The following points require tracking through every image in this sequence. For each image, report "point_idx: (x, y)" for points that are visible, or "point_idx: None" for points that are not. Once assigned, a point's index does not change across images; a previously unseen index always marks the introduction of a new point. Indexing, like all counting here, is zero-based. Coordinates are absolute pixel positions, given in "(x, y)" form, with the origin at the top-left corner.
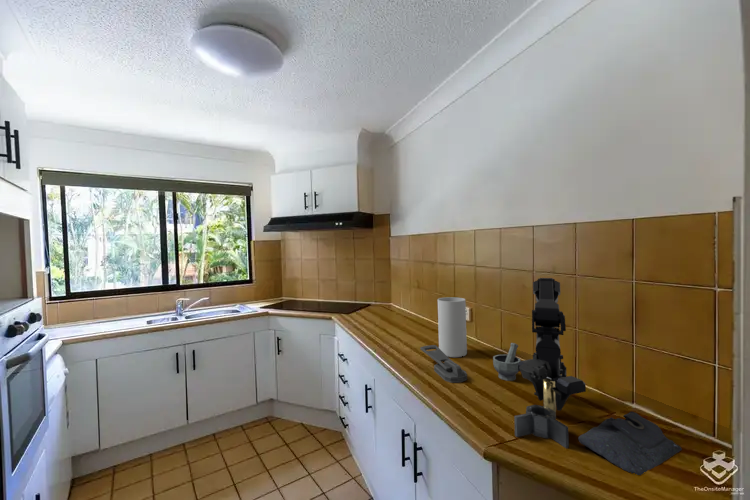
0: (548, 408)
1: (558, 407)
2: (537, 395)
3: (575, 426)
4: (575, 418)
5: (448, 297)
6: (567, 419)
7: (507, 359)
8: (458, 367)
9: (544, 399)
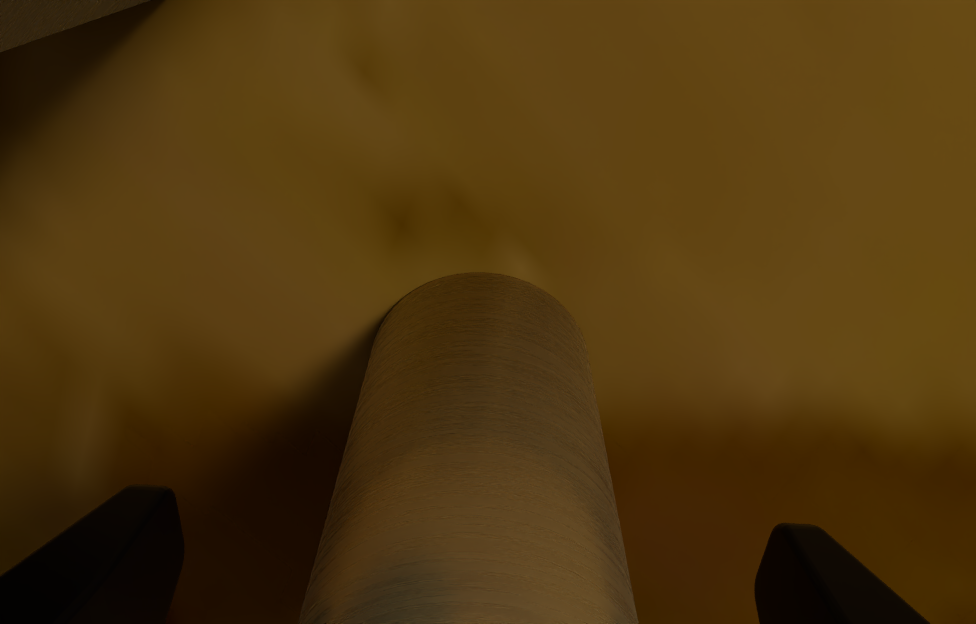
0: None
1: (42, 553)
2: (899, 611)
3: (36, 447)
4: (260, 615)
5: None
6: (269, 511)
7: None
8: None
9: (520, 568)
